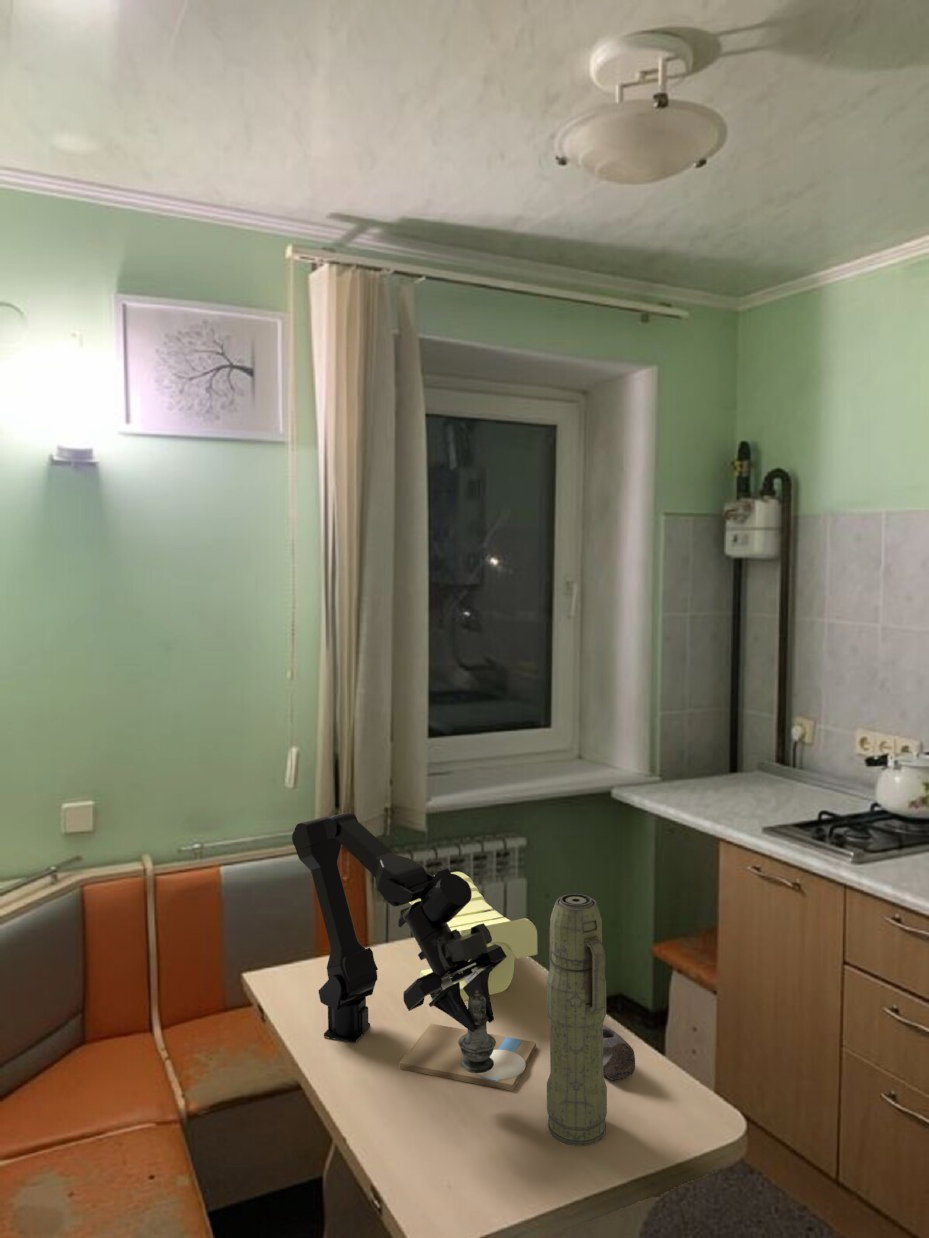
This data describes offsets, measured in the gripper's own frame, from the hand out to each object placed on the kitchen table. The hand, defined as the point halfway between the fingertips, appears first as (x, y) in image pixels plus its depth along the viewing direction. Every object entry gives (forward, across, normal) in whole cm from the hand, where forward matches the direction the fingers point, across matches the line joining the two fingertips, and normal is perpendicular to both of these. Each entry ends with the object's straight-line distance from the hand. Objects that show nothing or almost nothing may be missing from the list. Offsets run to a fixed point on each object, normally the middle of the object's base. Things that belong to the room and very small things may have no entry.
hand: (483, 1025), depth 141 cm
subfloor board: (+1, +9, +18) cm, 20 cm away
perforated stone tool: (+14, +23, +5) cm, 27 cm away
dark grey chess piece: (+4, 0, +6) cm, 7 cm away
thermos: (+19, +6, 0) cm, 20 cm away
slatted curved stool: (-13, +29, +32) cm, 45 cm away
